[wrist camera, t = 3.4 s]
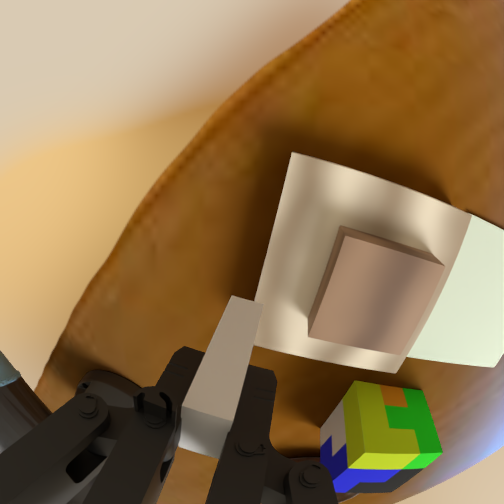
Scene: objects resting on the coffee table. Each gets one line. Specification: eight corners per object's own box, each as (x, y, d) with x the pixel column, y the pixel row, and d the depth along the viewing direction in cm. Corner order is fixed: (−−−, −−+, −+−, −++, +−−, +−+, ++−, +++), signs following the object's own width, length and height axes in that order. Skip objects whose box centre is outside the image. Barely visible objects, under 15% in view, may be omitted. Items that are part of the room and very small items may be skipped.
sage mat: (403, 353, 27) (404, 356, 27) (468, 212, 21) (470, 213, 21) (492, 365, 26) (493, 367, 26) (549, 256, 20) (551, 257, 20)
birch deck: (249, 320, 28) (243, 342, 25) (292, 151, 22) (291, 152, 19) (388, 351, 27) (395, 373, 24) (452, 205, 21) (472, 215, 18)
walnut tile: (307, 318, 23) (307, 336, 21) (339, 224, 20) (345, 235, 18) (393, 337, 23) (400, 355, 20) (432, 253, 20) (445, 266, 17)
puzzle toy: (320, 427, 33) (319, 491, 24) (354, 379, 29) (365, 452, 20) (382, 435, 32) (391, 492, 23) (422, 390, 29) (442, 452, 19)
